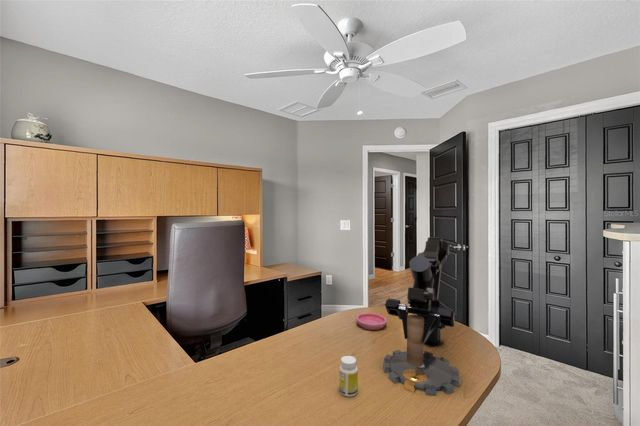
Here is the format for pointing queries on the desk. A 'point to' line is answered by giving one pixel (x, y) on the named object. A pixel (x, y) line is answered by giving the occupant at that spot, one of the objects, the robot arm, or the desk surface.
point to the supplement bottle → (348, 376)
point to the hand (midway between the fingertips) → (414, 340)
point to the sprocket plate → (422, 373)
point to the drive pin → (415, 340)
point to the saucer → (371, 321)
